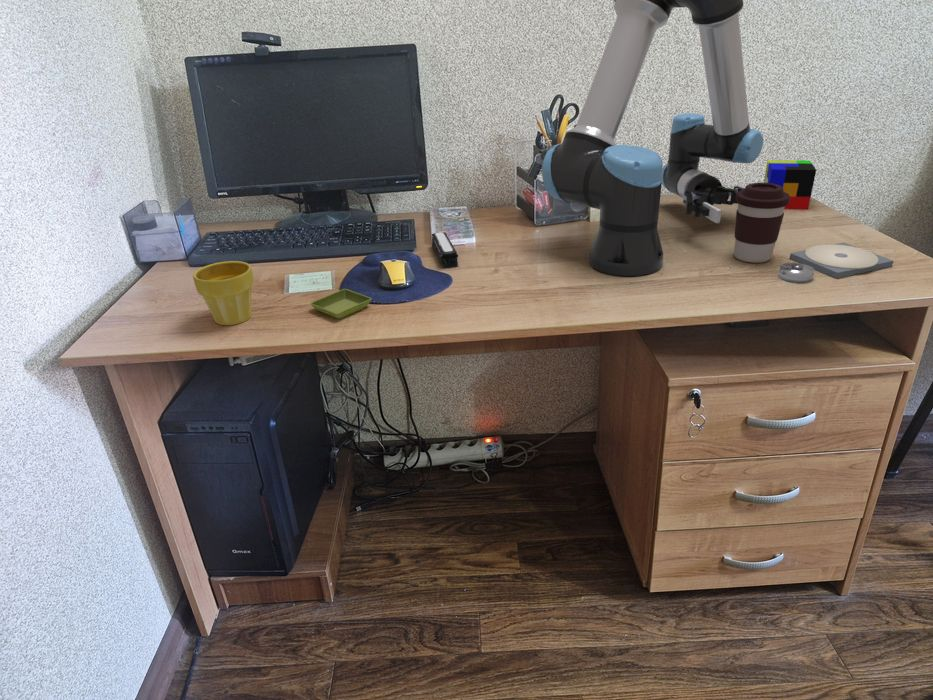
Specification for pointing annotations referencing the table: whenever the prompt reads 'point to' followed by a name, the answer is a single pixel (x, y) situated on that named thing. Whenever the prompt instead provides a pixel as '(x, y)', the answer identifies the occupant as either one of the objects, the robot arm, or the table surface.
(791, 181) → the puzzle toy
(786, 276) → the grey rounded disc
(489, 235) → the table surface
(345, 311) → the green rectangular tray
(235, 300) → the plant pot
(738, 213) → the coffee cup
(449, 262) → the white-topped black block
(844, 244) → the disc case
